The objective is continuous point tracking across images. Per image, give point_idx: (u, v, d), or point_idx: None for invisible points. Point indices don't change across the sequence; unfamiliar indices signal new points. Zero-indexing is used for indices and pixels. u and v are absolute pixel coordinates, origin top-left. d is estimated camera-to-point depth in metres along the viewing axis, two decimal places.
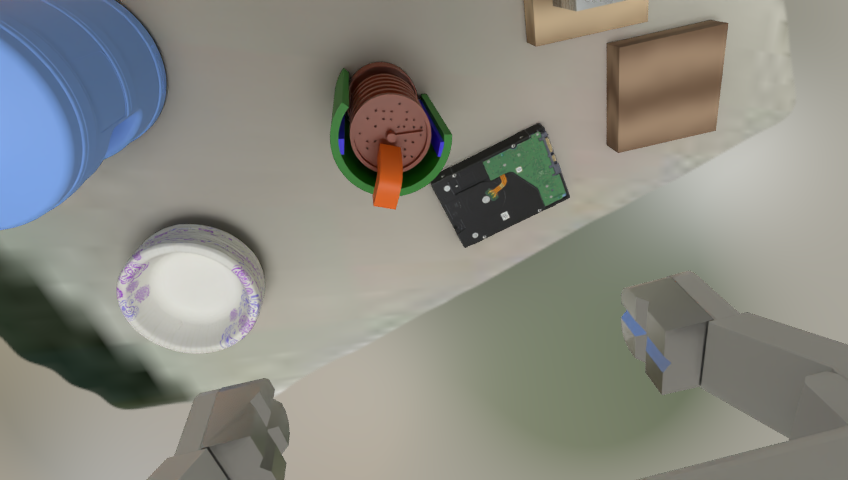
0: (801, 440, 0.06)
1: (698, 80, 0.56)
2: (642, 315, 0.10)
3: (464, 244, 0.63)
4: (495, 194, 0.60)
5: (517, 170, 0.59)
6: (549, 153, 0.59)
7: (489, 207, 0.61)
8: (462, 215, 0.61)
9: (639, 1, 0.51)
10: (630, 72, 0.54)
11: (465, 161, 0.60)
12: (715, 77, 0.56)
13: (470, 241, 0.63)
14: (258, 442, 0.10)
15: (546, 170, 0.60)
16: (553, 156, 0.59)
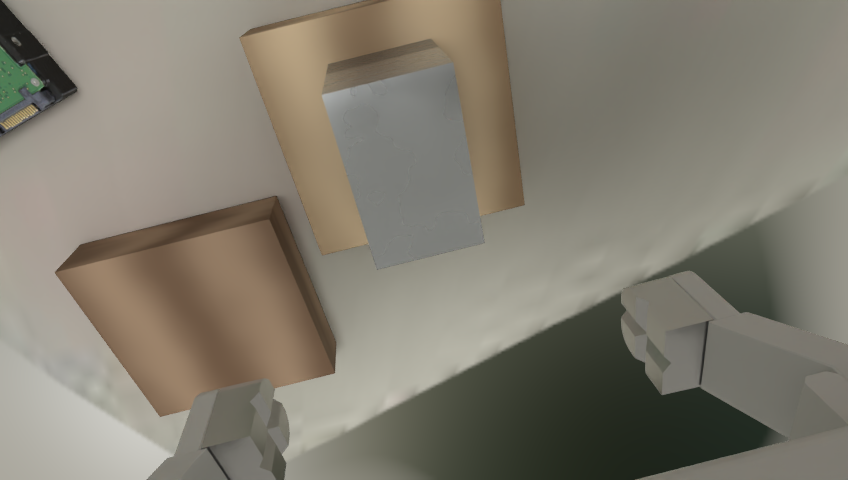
0: (801, 440, 0.06)
1: (238, 364, 0.32)
2: (642, 315, 0.10)
3: None
4: None
5: None
6: None
7: None
8: None
9: (352, 233, 0.28)
10: (227, 252, 0.28)
11: None
12: None
13: None
14: (258, 442, 0.10)
15: None
16: None
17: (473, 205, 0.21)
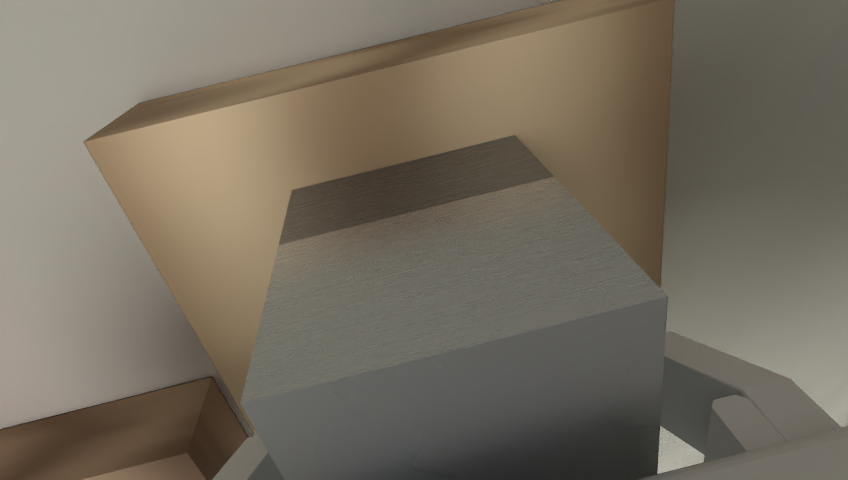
0: (801, 440, 0.06)
1: None
2: None
3: None
4: None
5: None
6: None
7: None
8: None
9: None
10: None
11: None
12: None
13: None
14: None
15: None
16: None
17: None
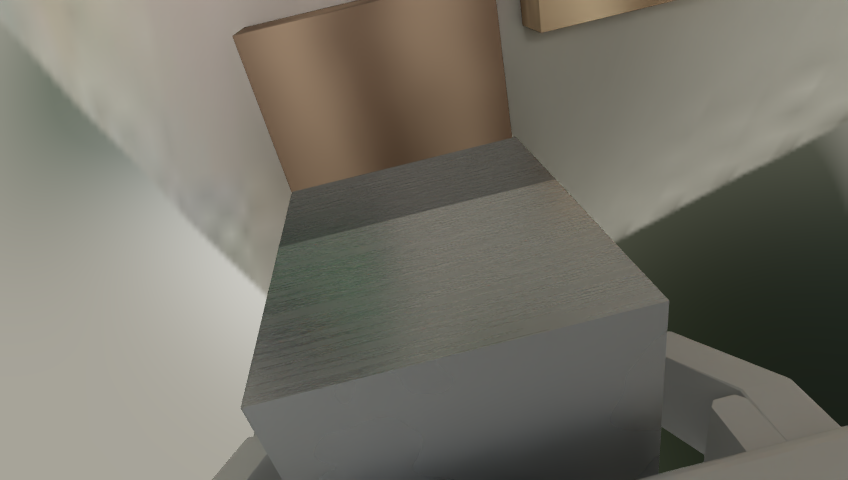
0: (801, 440, 0.06)
1: None
2: None
3: None
4: None
5: None
6: None
7: None
8: None
9: (581, 2, 0.23)
10: (435, 19, 0.23)
11: None
12: None
13: None
14: None
15: None
16: None
17: None
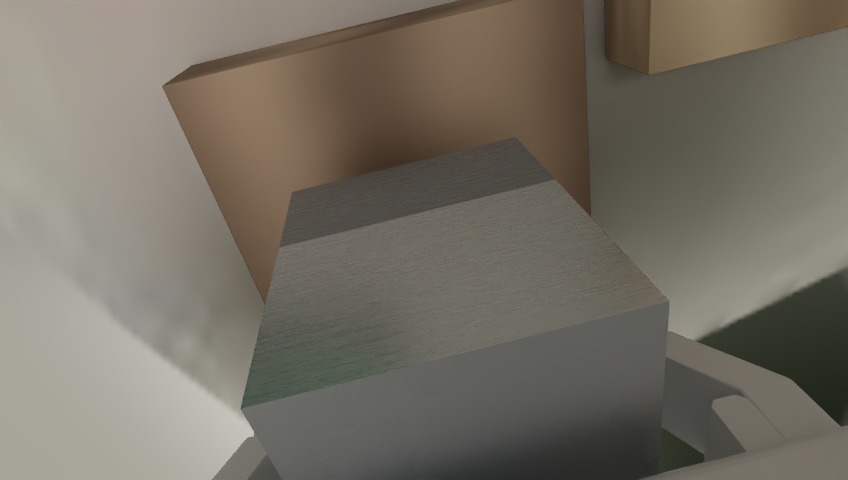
0: (801, 440, 0.06)
1: None
2: None
3: None
4: None
5: None
6: None
7: None
8: None
9: (715, 28, 0.15)
10: (488, 57, 0.14)
11: None
12: None
13: None
14: None
15: None
16: None
17: None
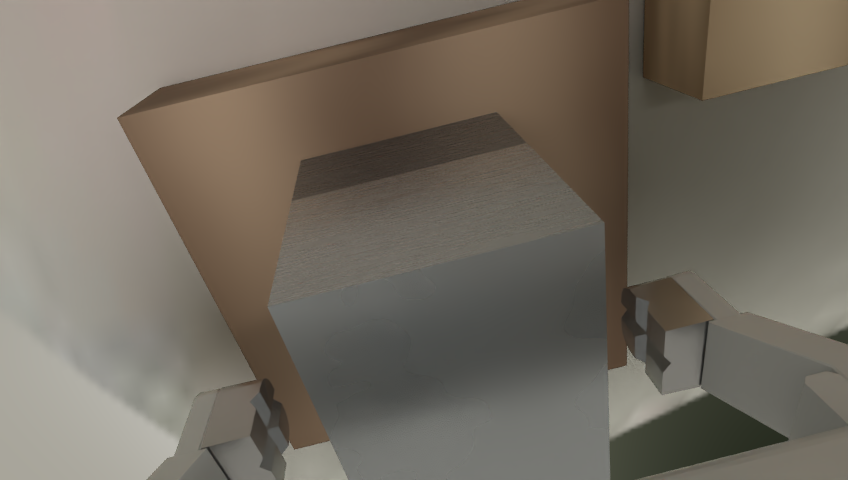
0: (801, 440, 0.06)
1: None
2: (642, 315, 0.10)
3: None
4: None
5: None
6: None
7: None
8: None
9: (784, 45, 0.13)
10: (513, 81, 0.12)
11: None
12: None
13: None
14: (258, 442, 0.10)
15: None
16: None
17: (600, 474, 0.10)
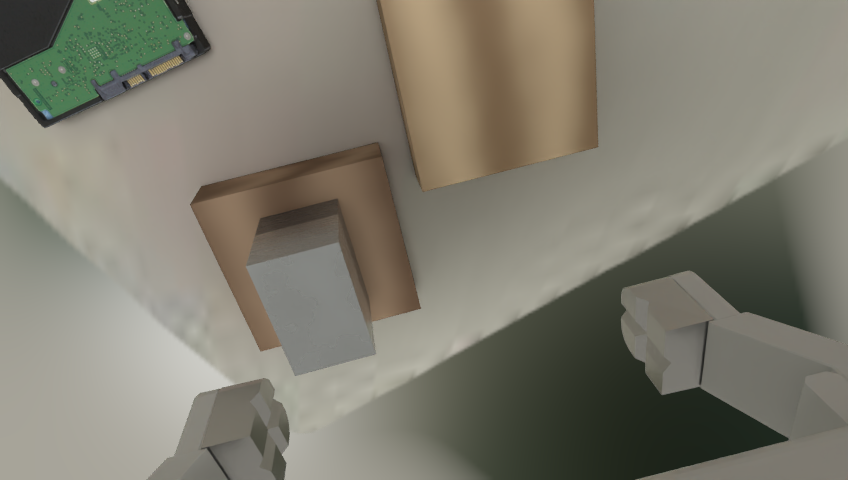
0: (801, 440, 0.06)
1: None
2: (642, 315, 0.10)
3: None
4: None
5: None
6: (145, 67, 0.27)
7: None
8: None
9: (450, 171, 0.32)
10: (342, 187, 0.31)
11: None
12: None
13: None
14: (257, 442, 0.10)
15: (102, 65, 0.27)
16: (140, 78, 0.28)
17: (364, 329, 0.29)
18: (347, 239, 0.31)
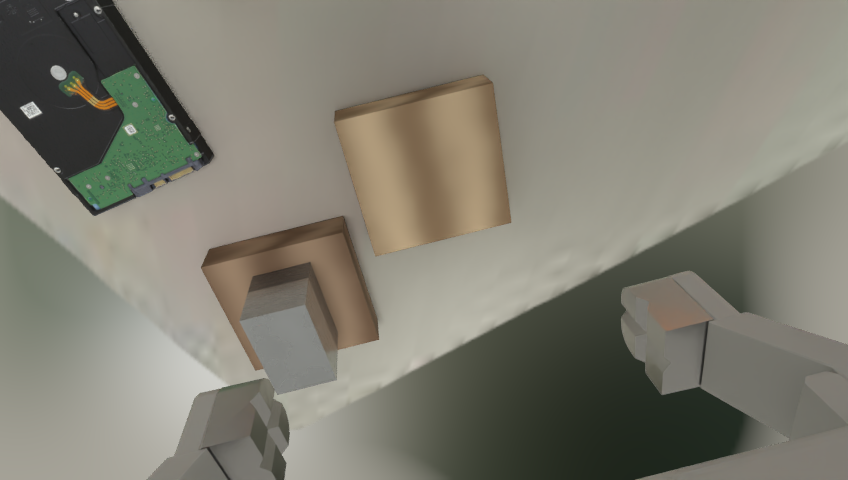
0: (801, 440, 0.06)
1: None
2: (642, 315, 0.10)
3: None
4: (73, 90, 0.34)
5: (127, 126, 0.36)
6: (166, 175, 0.38)
7: (43, 79, 0.33)
8: (11, 24, 0.32)
9: (396, 241, 0.42)
10: (313, 254, 0.42)
11: (130, 34, 0.34)
12: None
13: None
14: (258, 442, 0.10)
15: (136, 174, 0.37)
16: (162, 182, 0.38)
17: (327, 363, 0.40)
18: (317, 293, 0.42)
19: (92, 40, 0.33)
